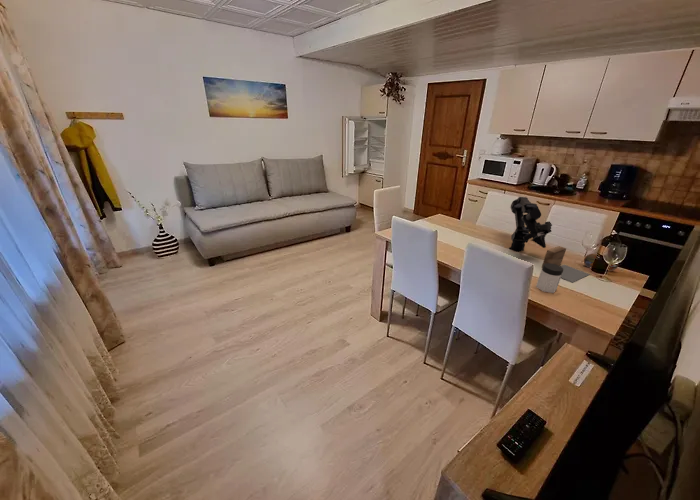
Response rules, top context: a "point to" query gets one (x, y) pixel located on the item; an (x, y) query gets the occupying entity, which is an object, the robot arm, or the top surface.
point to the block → (554, 256)
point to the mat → (572, 274)
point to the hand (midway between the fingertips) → (544, 247)
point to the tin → (590, 259)
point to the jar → (549, 277)
